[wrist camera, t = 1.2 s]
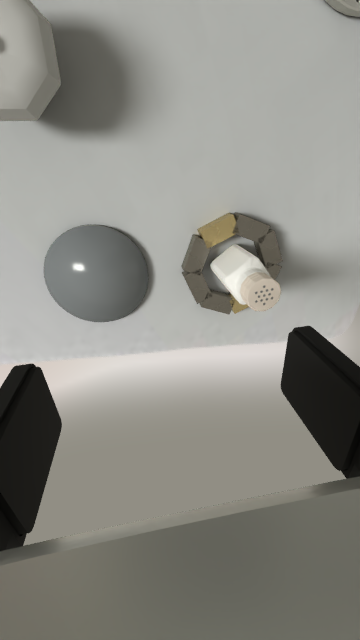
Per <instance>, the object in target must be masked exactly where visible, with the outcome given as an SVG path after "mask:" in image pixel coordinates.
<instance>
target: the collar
mask: <svg viewBox="0 0 360 640" xmlns="http://www.w3.org/2000/svg"><path fill="white" fill-rule="evenodd" d="M269 228H270V226H269V225H267V224H264V223H261V222H259V221H256V220H254V219H251V218H249V217H246V216H244V215H241V214H238V213H235V214H234V215H233V214H231V213H228V214H226V215H224V216H222V217H220V218H218V219H216V220H214V221H212V222H210V223H208V224H207V225H205V226H203V227H201V228H199V229H197V230H198V232H199V235H200V237H199V236H196V235H193V236H192V239H191V241H190V244H189V247H188V250H187V253H186V256H185V258H184V261H183V264H182V269H183V270H184V272H182V274H183V276H184V278H185V280H186V282H187V284H188V286H189V288H190V290H191V292H192V294H193V296H194V298H195V300H196V302H197V304H198V303H200V305H201V307H203V308H207V309H211V310H215V311H218V312H222V313H226V314H230V312H231V310H232V311H233V312H234V313H237V312H239V311H241V310H243V309H245V308H247V307H249V306H248V305H247V304H245V305H242V304H240V303H239V302H238V301H237V300H236V299H235V298H234V296H233V295H232V294H226V293H222V292H219V291H215V290H212V289H209V287H208V285H207V283H206V281H205V278H204V276H203V274H202V270H203V267H204V264H205V262H206V259H207V257H208V254H209V252H210V249H211V247H212V246H214V245H216V244H218V243H220V242H222V241H224V240H226V239H228V238H230V237H232V236H233V235H235V234H236V235H239V236H242V237H244V238H247V239H250V240H252V241H254V244H255V247H256V250H257V253H258V256H259V259H260V261H261V262H262V264H263V265H264V267H265V268H266V270H267V271H268V273H269V275H270V276H271V278H273V279H274V280H275V279H276V277H277V275H278V273H279V271H280V269H281V266H280V265H278V264H277V263H279V262H281V261H283V260H282V257H281V253H280V249H279V246H278V242H277V238H276V235H275V231H274V230H272V229H269Z"/></svg>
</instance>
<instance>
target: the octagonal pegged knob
mask: <svg viewBox="0 0 360 640" xmlns="http://www.w3.org/2000/svg"><path fill="white" fill-rule="evenodd" d="M60 85H61V79H60V73H59V67H58V62H57V56H56V50H55V44H54V39H53V33H52V27H51V24H50V23H49V21H48V20H47V19H46V18H45V17H44V16H43V15H42V14H41V13H40V12H39V10H38V9H37V8H36V7H35V6H34V5H33V4H32V3H31V2H30V0H0V121H38V119H39V117H40V116H41V114H42V113H43V111H44V110H45V108H46V107H47V105H48V104H49V102H50V101H51V99H52V98H53V96H54V95H55V93H56V92H57V90H58V89H59V87H60Z"/></svg>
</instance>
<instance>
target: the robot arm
mask: <svg viewBox="0 0 360 640" xmlns="http://www.w3.org/2000/svg"><path fill="white" fill-rule="evenodd" d="M325 1H326V2H327V3H328V4H329V5H330V6H331V7H333V8H334V9H335V10H337V11H339V12H341V13H343V14H345V15H349V16H356V17H360V0H325ZM281 389H282V392H283V394H284V395H285V397H286V398H287V400H288V401H289V402H290V404H291V406H292V407H293V408H294V410H295V411H296V413H297V414H298V416H299V417H300V418H301V420H302V421H303V423H304V424H305V426H306V427H307V429H308V430H309V431H310V433H311V434H312V435H313V437H314V439H315V440H316V441H317V443H318V444H319V445H320V447H321V449H322V450H323V452H324V453H325V454H326V456H327V457H328V459H329V460H330V462H331V463H332V464H333V466H334V467H335V468H336V469H337V470H339V471H340V470H341V471H342V473H343V474H344V475H345V477H346V478H347V479H343V480H338V481H333V482H328V483H323V484H318V485H313V486H308V487H303V488H298V489H293V490H288V491H283V492H278V493H273V494H268V495H263V496H258V497H253V498H248V499H244V500H238V501H234V502H228V503H223V504H218V505H213V506H209V507H204V508H199V509H194V510H189V511H185V512H180V513H175V514H170V515H165V516H160V517H155V518H151V519H146V520H141V521H137V522H132V523H127V524H122V525H117V526H112V527H108V528H103V529H98V530H94V531H89V532H84V533H79V534H75V535H70V536H65V537H61V538H56V539H52V540H48V541H43V542H40V543H34V544H30V545H26V546H23V544H24V541H25V537H26V534H27V533H30V532H31V531H32V529H33V527H34V524H35V520H36V516H37V513H38V510H39V506H40V502H41V498H42V495H43V492H44V488H45V485H46V481H47V478H48V474H49V471H50V467H51V464H52V460H53V457H54V453H55V450H56V446H57V443H58V439H59V436H60V432H61V427H62V423H61V418H60V416H59V413H58V411H57V408H56V406H55V403H54V400H53V398H52V395H51V393H50V390H49V388H48V385H47V382H46V380H45V377H44V375H43V372H42V370H41V368H40V367H36V366H35V365H34V364H26V365H19V366H15V367H13V369H12V370H11V372H10V373H9V375H8V377H7V378H6V380H5V381H4V383H3V384H2V386H1V388H0V640H360V367H359V366H357V365H356V364H355V363H354V362H353V361H352V360H350V359H349V358H348V357H347V356H345V354H343V353H342V352H341V351H340V350H339V349H337V348H336V347H335V346H334V345H333V344H331V343H330V342H329V341H328V340H327V339H325V338H324V337H323V336H322V335H321V334H319V333H318V332H317V331H316V330H315V329H313V328H312V327H311V326H304V327H297V328H294V329H293V330H292V332H290V333H289V336H288V342H287V349H286V354H285V361H284V368H283V373H282V380H281Z"/></svg>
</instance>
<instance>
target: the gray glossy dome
mask: <svg viewBox="0 0 360 640" xmlns="http://www.w3.org/2000/svg"><path fill="white" fill-rule="evenodd" d="M44 278H45V282H46V285H47V288H48V290H49V292H50V294H51V296H52V297H53V298H54V300H55V301H56V302H57V303H58V304H59V305H60V306H61V307H62V308H63V309H64V310H66V311H67V312H69V313H70V314H72V315H74V316H76V317H78V318H80V319H83V320H87V321H92V322H109V321H114V320H117V319H120V318H122V317H124V316H126V315H128V314H129V313H131V312H132V311H133V310H134V309H135V308H136V307H137V306H138V305H139V304H140V303H141V301H142V299H143V298H144V295H145V293H146V290H147V286H148V270H147V265H146V262H145V259H144V257H143V255H142V253H141V251H140V250H139V248H138V247H137V246H136V245H135V243H134V242H133V241H132V240H131V239H129V238H128V237H127V236H126V235H124V234H123V233H121V232H119V231H117V230H115V229H113V228H110V227H106V226H102V225H83V226H78V227H75V228H72V229H70V230H68V231H66V232H65V233H63V234H62V235H61V236H59V237H58V238H57V239H56V240H55V241H54V242H53V244H52V245H51V247H50V248H49V250H48V252H47V255H46V257H45V262H44Z"/></svg>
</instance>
